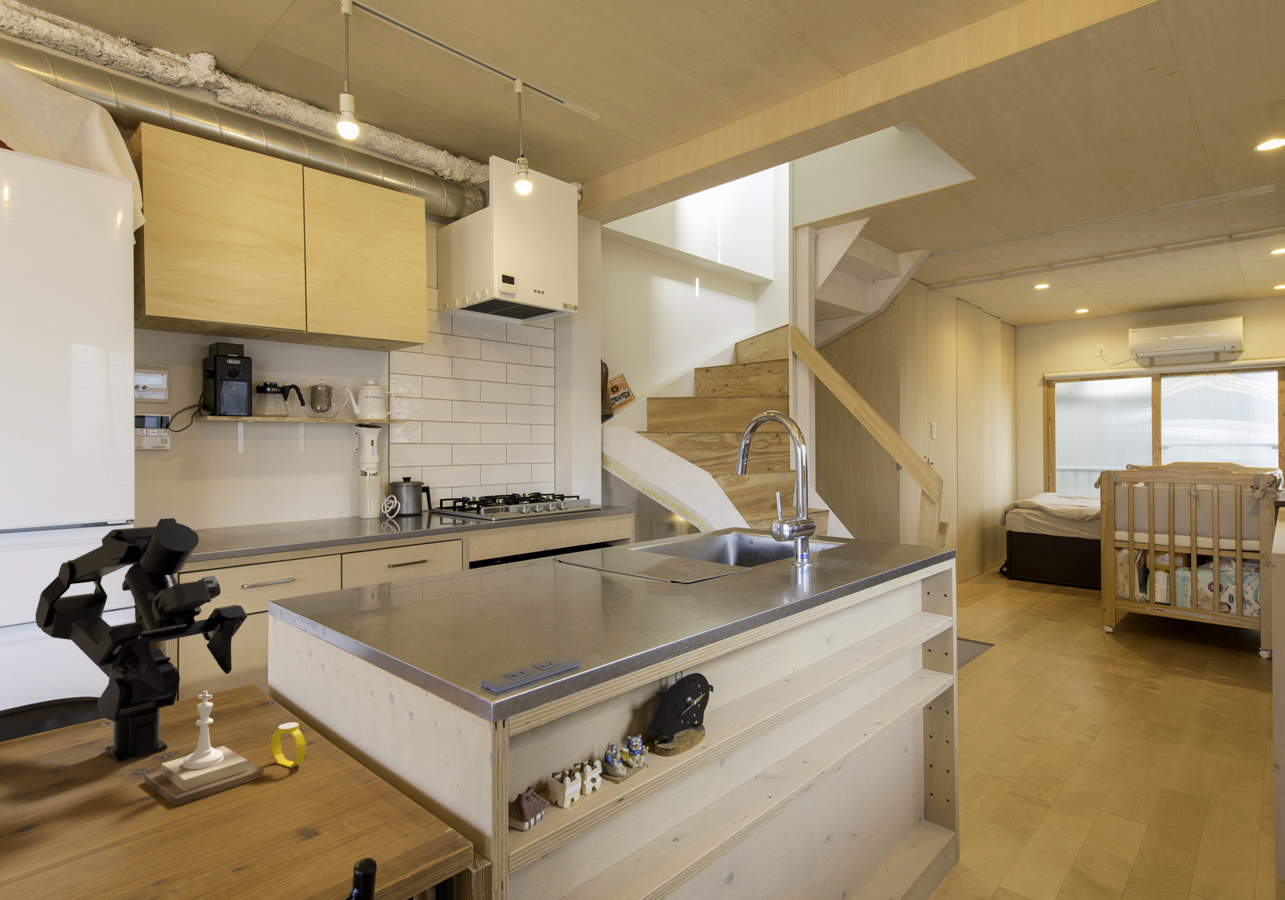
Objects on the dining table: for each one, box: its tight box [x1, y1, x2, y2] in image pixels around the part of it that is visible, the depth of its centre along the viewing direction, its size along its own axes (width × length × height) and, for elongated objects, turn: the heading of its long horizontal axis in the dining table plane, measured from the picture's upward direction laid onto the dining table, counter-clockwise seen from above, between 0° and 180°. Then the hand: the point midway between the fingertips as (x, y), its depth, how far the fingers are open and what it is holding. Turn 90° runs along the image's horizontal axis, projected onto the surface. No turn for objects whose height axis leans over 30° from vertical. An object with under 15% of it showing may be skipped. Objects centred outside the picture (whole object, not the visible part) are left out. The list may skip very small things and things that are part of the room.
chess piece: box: [183, 689, 224, 769], centre depth 100 cm, size 5×5×10 cm
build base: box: [144, 745, 264, 807], centre depth 100 cm, size 11×11×2 cm
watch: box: [270, 721, 307, 769], centre depth 105 cm, size 6×3×6 cm, turn 64°
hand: (197, 680), depth 101 cm, fingers open, 9 cm apart
